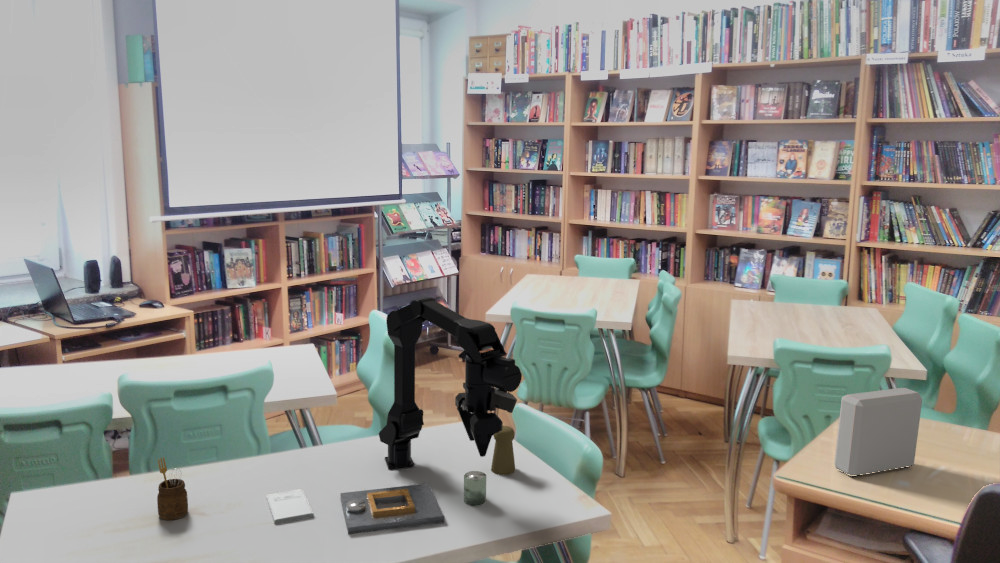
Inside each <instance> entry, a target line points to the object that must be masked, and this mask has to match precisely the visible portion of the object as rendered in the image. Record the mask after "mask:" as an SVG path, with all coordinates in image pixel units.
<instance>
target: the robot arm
mask: <svg viewBox="0 0 1000 563" xmlns="http://www.w3.org/2000/svg"><path fill="white" fill-rule="evenodd" d="M425 322H430V323H431V324H432V325H434V326H436V327H438V329H441V330H443V331H445V332H446V333H448V334H449V335H451V336H452V337H453V338H455V342H456V344H457V345H458V346H459V347H460V348H461V349H462V350H463V351H462V352H460V353H459V354H458V358H459V359H462V360H464V361H465V370H464V371H465V374H464V375H465V377H464V380H465V381H464V382H462V388H463V389H464V392H459V393H458V394H457V395H456V396H455V399H454V402H455V406H456V410H457V412H458V414H459V417H460V420H461V422H462V425H463V427H464V429H465V432H466V435H467V436H468V439H469V441H471V442H473V441H474V444H475V447H476V449H477V450H478V451H477V452H478V454H479V456H480V458H484V457H486V455H487V452H488V449H489V446H490V444H491V439H492V437H494V436H493V435H494V434H495V433H498V432H499V431H502V426H504V425H503V423H504V422H503V420H502V419H501V418H500V417H499V415H498V414H496V413H495V412H494V411H496V409H499V410H502V411H505V412H507V413H509V414H510V413H511V414H513V413H514V409H515V407H516V404H517V401H518V399H517V397H516V396H514V394H512V392H515V391H516V390H517V389H518V388H519V387H520V384H521V382H522V378H523V377H522V375H523V374H522V372H521V369H520V367H519V366H518V365H516V359H514V358H507V357H505V356H507V353H506V350H505V348H504V345H503V344H502V342H501V340H500V337H499V336H498V333H497V331H496V328H495V326H494V325H493V324H492V323H490V322H486V321H483V320H479V319H471V318H470V319H469V318H466V317H465V316H463V315H461V314H460V313H458V312H456V311H454V310H452V309H450V308H449V307H447V306H445V305H443V304H441V302H438V301H436V299H435V298H434V297H429V296H428V297H423V298H416V299H415V300H413V301H412V302H411V303H409V304H407V305H405V306H403V307H400V308H398V309H394V310H391V311H390V312H389V313H388V314H387V315H386V327H387V328H386V331H387V336H388V337H389V339H390V340H391V342H392V344H393V346H394V349H393V352H394V358H393V360H394V361H393V362H394V366H393V367H394V368H393V371H394V373H393V375H394V376H393V379H394V385H393V390H394V391H393V393H394V394H393V395H394V396H393V398H394V399H393V404H392V405H391V407H390V409H389V411H388V412H387V419H386V425H385V426H384V427H383V428H382V429H381V430H380V431H379V432H378V437H379V441H380V443H383V444H385V445H387V456H384V461H385V463H386V466H387V469H388V470H392V469H401V468H402V469H403V468H413V467H415V461H414V460H413V458H412V440H414V439H418V438H419V437H420V433H421V431H422V430H423V426H424V425H425V424H424V413H425V412H424V410H423V409H421V408H419V406H418V405H417V403H416V393H415V392H416V344H417V343H418V341H419V339H420V337H421V335H422V332H423V327H424V326H423V324H424V323H425ZM490 349H492V350H490ZM486 350H487V351H486ZM483 351H484V352H483ZM488 411H489V412H488Z"/></svg>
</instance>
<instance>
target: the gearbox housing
mask: <svg viewBox="0 0 1000 563" xmlns="http://www.w3.org/2000/svg"><path fill="white" fill-rule="evenodd" d="M339 495H340V503H341V507H342V512H343V516H344V521H345V526H346V530H347V534H348V535H355V534H356V535H357V534H365V533H370V532H371V533H372V532H378V531H387V530H394V529H403V528H409V527H419V526H426V525H427V526H428V525H433V524H443V523H445V522H444V520H445V519H444V518H445V516H444V514H443V511H442V509H441V507H440V505H439V503H438V501H437V499H436V496H435V495H434V492H433V491H432V488H431V486H430V484H429V483H427V482H426V483H419V484H411V485H410V484H409V485H402V486H401V485H400V486H390V487H384V488H375V489H365V490H356V491H347V492H340V494H339ZM402 502H403V503H404V505H403V506H401V505H400V506H394V507H393V506H392V507H386V508H385V507H384V508H378V507H377V505H386V504H393V503H402Z"/></svg>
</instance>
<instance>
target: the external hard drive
mask: <svg viewBox="0 0 1000 563" xmlns="http://www.w3.org/2000/svg"><path fill="white" fill-rule="evenodd" d="M266 501H267V505H268V507H269V510H270V514H271V518H272V521H273V524H274V525H276V524H282V523H288V522H294V521H299V520H304V519H311V518H314V517H315V514H314V513H315V512H313V509H312V507H311V504H310V503H309V500H308V497H307V495H306V493H305V491H304V489H303V488H299V489H298V488H297V489H292V490H288V491H280V492H276V493H269V494H267V495H266Z"/></svg>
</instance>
